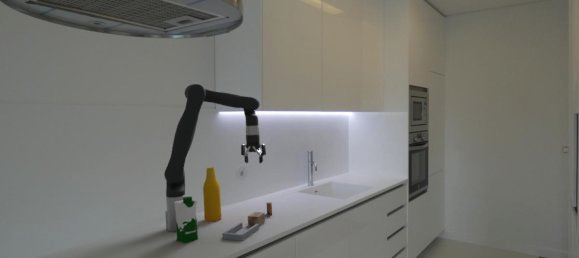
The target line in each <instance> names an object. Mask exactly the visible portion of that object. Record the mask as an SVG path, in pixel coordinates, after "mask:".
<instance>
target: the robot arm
mask: <svg viewBox="0 0 579 258" xmlns="http://www.w3.org/2000/svg"><path fill="white" fill-rule="evenodd" d="M184 96H185V98H186V103H185V108H184V111H183V113H182V115H181V117H180V119H179V121H178V122H177V126H176V129H175V133H174V137H173V142H172V148H171V154H170V157H169V160H168V163H167V166H166V168H165V170H164V179H165V181H166V183H165V184H166V188H165V189H166V190H165V196H166V200H165V201H166V211H165V228H166V231H168V232H173V233H174V232H175V233H177V228H176V211H175V205H174V202H176V201H181V200H183V198H184V197H186V178H185V177H186V173H185V164H186V159H187V157H188V153H189V152H190V149H191V146H192V144H193V141H194V137H195V134H196V129H197V124H198V120H199V115H200V111H201V109H202V107H203V104H204V102H205V103H212V104H216V105H220V106H225V107H229V108H235V109H243V114H244V118H245V142H246V143H245V144H244V143H242V144H241V145H240V155H241V156H243V157H244V163H245V164H248V163H249V154H250V153H256V154H257V155H258V160H259V161H258V162H259V164H262V163H264V158H263V157H264V156H265V155H267V151H266V144H265V143H263V144H260V143H261V141H260V139H261V138H260V128H259V126H260V125H259V116H258V115H257V114H256V110H258V109H259V108H260V105H261V104H260V101H259V100H258V99H257V98H256V97H252V96H243V95H238V94H234V93H229V92H228V93H227V92H223V91H222V92H221V91H214V90H210V89H206V88H205V87H204V86H203V85H201V84H198V83H196V84H195V83H193V84H190V85H188V86H187V87H186V88H185V89H184ZM254 110H255V111H254Z"/></svg>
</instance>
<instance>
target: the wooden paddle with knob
mask: <svg viewBox="0 0 579 258" xmlns="http://www.w3.org/2000/svg"><path fill="white" fill-rule="evenodd" d="M265 205H266V212H259V211H254V212H252V213H250V214H248V215H247V226H249V227H252V226H254V225H255V224H259V227H260V226H262V225H263V224H264V223H266V217H267V216H272V215H273V204H272V202H270V201H269V202H266V204H265Z"/></svg>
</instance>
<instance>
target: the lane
mask: <svg viewBox="0 0 579 258" xmlns="http://www.w3.org/2000/svg"><path fill="white" fill-rule="evenodd" d="M242 228H243V222H238V223H237V224H236V225H234V226H232V227H231V228H228V229H227V230H225V231H224V232H223V233H221V236H222V239H223V240H232V241H244V240H246V239H247V238H248V237H250V236H251V235H253V234H254V233H255V232H257V231H258V230H259V229H260V226H259V224H255V225H254V226H250V227H249V228H248V229H247V230H245V231H244V232H242V233H236V232H238V231H240V230H241V229H242ZM256 230H257V231H256ZM252 233H253V234H252Z"/></svg>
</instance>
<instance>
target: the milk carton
mask: <svg viewBox="0 0 579 258" xmlns="http://www.w3.org/2000/svg"><path fill="white" fill-rule="evenodd" d="M197 202H198V201H197V200H194V199H193V196H185V197H184V198H183V200H181V201H176V202H174V205H175V211H176V228H177V231H176V241H178V242H181V243H183V244H186V243H189V242H193V241H197V240H198V239H199V236H198V219H197V216H198V215H197V207H198V206H197V205H198V203H197Z"/></svg>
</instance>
